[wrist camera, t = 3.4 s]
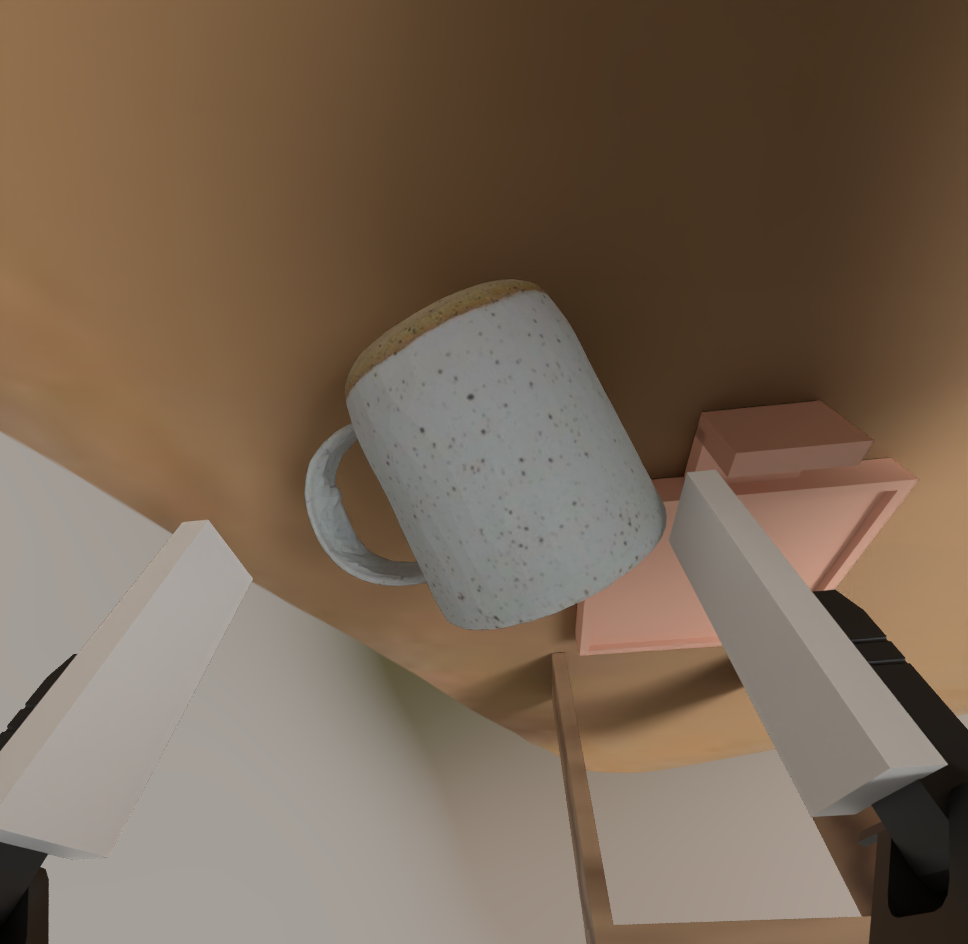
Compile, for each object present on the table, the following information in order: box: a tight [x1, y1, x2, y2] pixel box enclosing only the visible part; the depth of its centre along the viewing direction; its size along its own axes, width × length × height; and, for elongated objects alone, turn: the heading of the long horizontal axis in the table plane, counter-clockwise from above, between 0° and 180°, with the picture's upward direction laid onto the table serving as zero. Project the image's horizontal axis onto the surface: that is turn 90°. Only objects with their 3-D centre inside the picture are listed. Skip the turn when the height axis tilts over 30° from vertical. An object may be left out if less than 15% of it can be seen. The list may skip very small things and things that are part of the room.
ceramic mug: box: [304, 279, 667, 630], centre depth 12 cm, size 11×8×8 cm
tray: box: [575, 401, 919, 656], centre depth 22 cm, size 18×15×3 cm
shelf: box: [552, 653, 881, 944], centre depth 27 cm, size 8×18×16 cm, turn 96°
